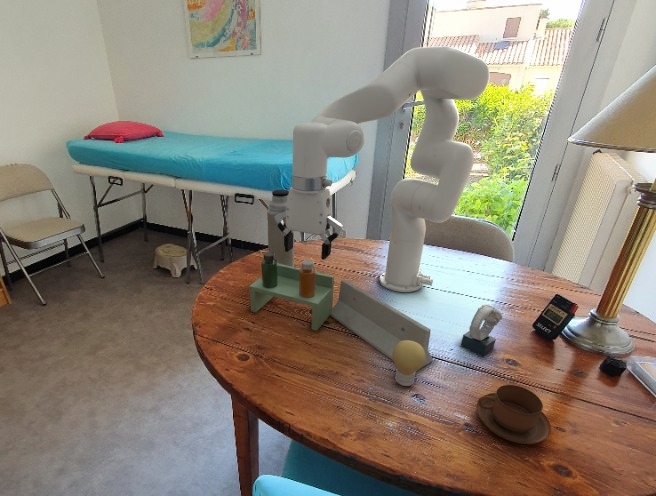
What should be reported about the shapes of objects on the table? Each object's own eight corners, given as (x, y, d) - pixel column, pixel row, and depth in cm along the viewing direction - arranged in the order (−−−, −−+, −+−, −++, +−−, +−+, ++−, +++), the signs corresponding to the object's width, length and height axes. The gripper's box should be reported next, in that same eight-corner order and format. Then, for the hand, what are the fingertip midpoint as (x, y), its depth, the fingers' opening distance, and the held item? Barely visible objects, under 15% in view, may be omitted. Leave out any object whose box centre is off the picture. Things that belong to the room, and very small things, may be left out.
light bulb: (421, 376, 87) (429, 338, 82) (417, 396, 82) (425, 357, 77) (391, 368, 89) (397, 331, 84) (385, 387, 84) (391, 348, 79)
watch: (497, 346, 95) (509, 307, 90) (478, 360, 91) (490, 319, 86) (474, 335, 99) (485, 297, 94) (455, 348, 95) (465, 308, 90)
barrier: (330, 315, 109) (331, 283, 104) (350, 308, 112) (352, 276, 107) (410, 373, 88) (417, 335, 83) (432, 361, 91) (440, 324, 86)
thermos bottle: (270, 272, 132) (268, 187, 119) (294, 272, 132) (295, 187, 118) (267, 283, 125) (265, 194, 112) (293, 284, 125) (293, 195, 111)
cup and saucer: (493, 450, 70) (502, 425, 67) (464, 400, 80) (470, 376, 77) (562, 449, 70) (574, 424, 67) (524, 399, 80) (533, 375, 77)
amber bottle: (317, 292, 104) (319, 260, 99) (311, 299, 101) (311, 267, 96) (303, 288, 106) (303, 257, 101) (296, 295, 102) (296, 263, 98)
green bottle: (280, 283, 109) (280, 252, 104) (272, 289, 105) (272, 258, 101) (267, 279, 110) (266, 249, 106) (259, 286, 107) (257, 255, 103)
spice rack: (332, 312, 110) (334, 275, 105) (317, 330, 103) (318, 292, 97) (268, 295, 119) (267, 260, 114) (250, 311, 111) (248, 275, 106)
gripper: (352, 183, 88) (346, 255, 96) (283, 175, 96) (282, 242, 104) (339, 191, 83) (334, 266, 91) (267, 182, 90) (268, 252, 98)
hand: (306, 253), depth 97 cm, fingers open, 9 cm apart
